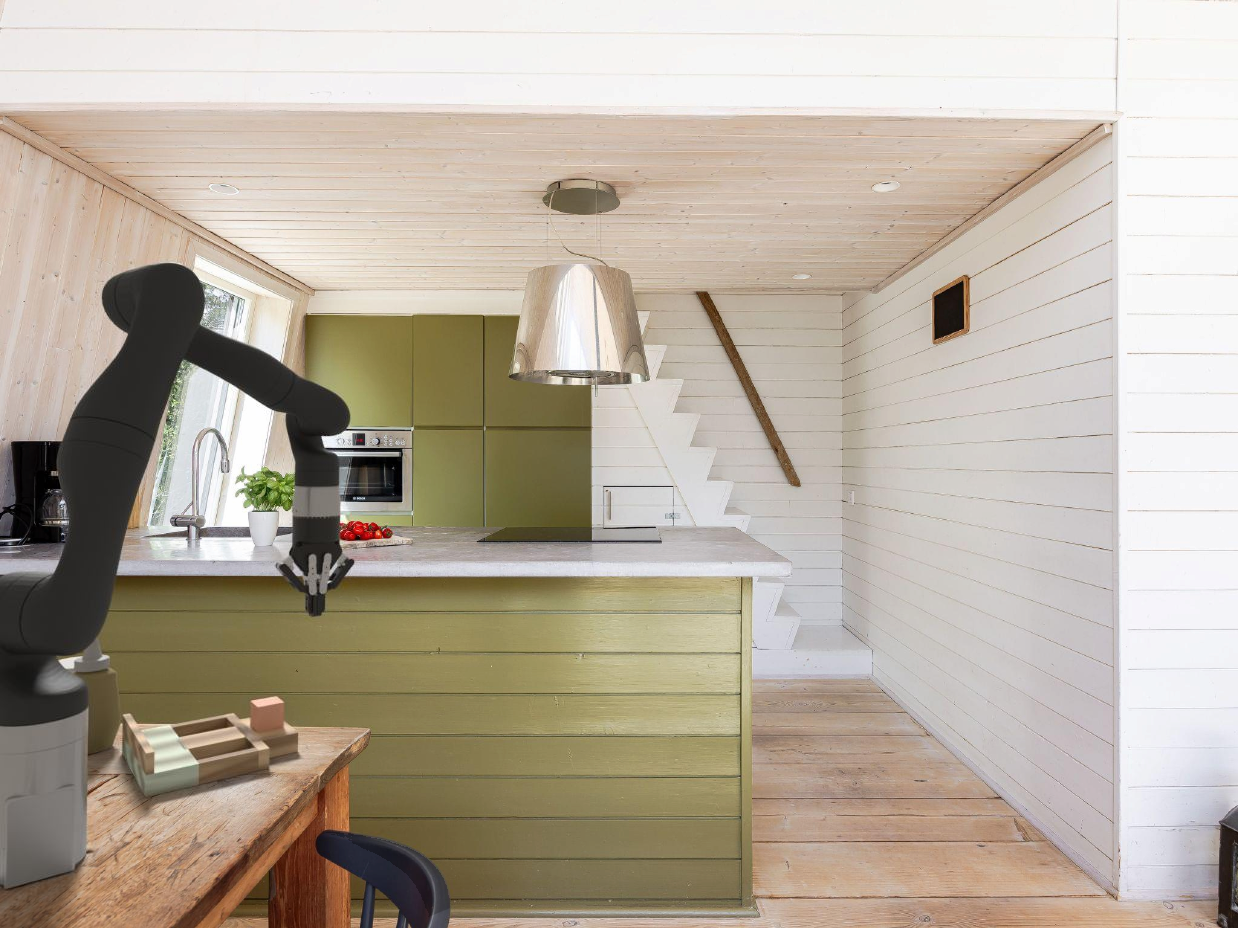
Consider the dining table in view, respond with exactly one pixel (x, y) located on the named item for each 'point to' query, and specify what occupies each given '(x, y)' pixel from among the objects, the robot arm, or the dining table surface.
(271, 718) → the block
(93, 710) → the squeeze bottle
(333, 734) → the dining table surface
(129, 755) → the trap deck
